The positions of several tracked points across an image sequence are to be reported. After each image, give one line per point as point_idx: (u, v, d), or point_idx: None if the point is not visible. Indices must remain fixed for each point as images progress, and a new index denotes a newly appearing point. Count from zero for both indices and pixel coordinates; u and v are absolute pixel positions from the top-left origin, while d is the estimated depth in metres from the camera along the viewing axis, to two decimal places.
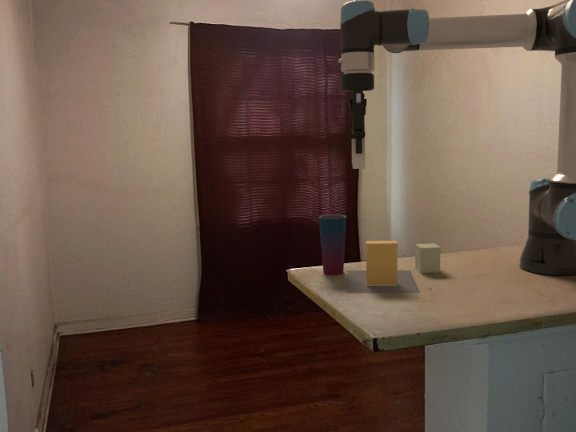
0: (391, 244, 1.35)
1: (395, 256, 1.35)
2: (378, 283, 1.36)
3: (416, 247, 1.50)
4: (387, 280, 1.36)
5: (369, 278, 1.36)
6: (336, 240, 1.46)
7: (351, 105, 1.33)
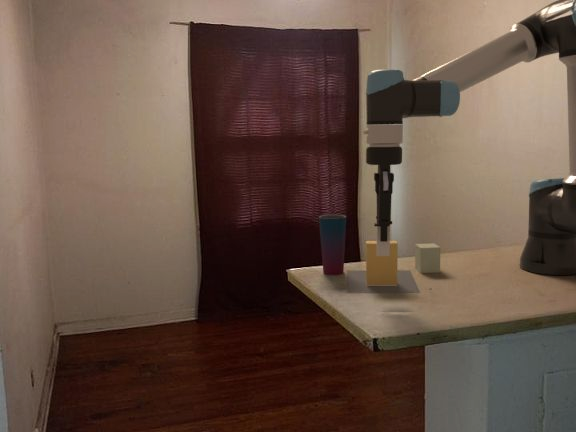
0: (391, 244, 1.35)
1: (395, 256, 1.35)
2: (378, 283, 1.36)
3: (416, 247, 1.50)
4: (387, 280, 1.36)
5: (369, 278, 1.36)
6: (336, 240, 1.46)
7: (377, 184, 1.24)
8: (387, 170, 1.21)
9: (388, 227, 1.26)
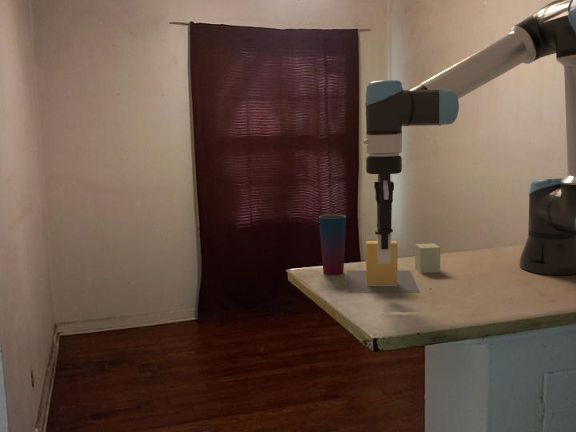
0: (391, 244, 1.35)
1: (395, 256, 1.35)
2: (378, 283, 1.36)
3: (416, 247, 1.50)
4: (387, 280, 1.36)
5: (369, 278, 1.36)
6: (336, 240, 1.46)
7: (377, 193, 1.25)
8: (387, 179, 1.23)
9: (389, 235, 1.28)
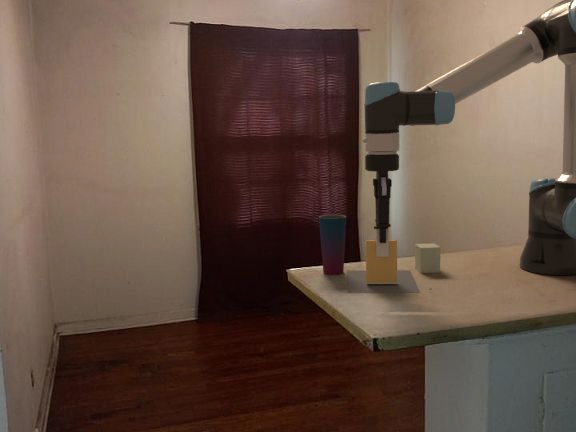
0: (390, 241, 1.36)
1: (395, 253, 1.36)
2: (378, 281, 1.37)
3: (416, 247, 1.50)
4: (387, 278, 1.36)
5: (369, 275, 1.37)
6: (336, 240, 1.46)
7: (376, 189, 1.32)
8: (385, 176, 1.29)
9: (387, 229, 1.34)
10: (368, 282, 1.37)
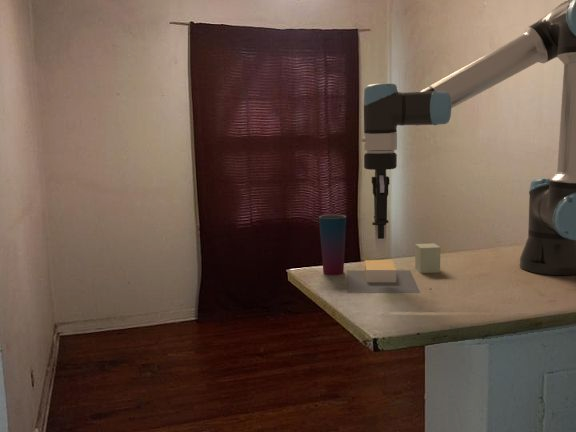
0: (387, 260, 1.48)
1: (392, 263, 1.46)
2: (377, 269, 1.40)
3: (416, 247, 1.50)
4: (385, 268, 1.40)
5: (368, 268, 1.41)
6: (336, 240, 1.46)
7: (374, 187, 1.37)
8: (383, 174, 1.34)
9: (385, 225, 1.39)
10: (367, 269, 1.40)
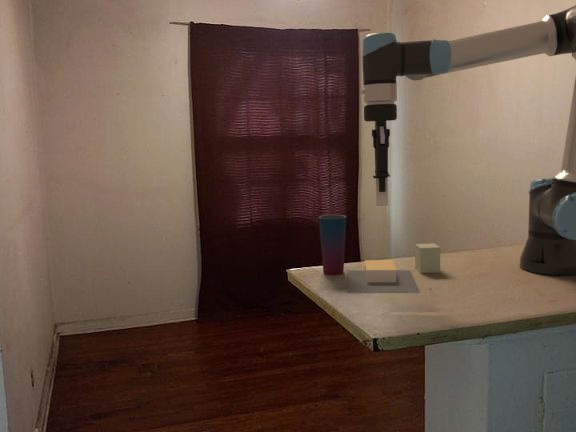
0: (387, 260, 1.48)
1: (392, 263, 1.46)
2: (377, 269, 1.40)
3: (416, 247, 1.50)
4: (385, 268, 1.40)
5: (368, 268, 1.41)
6: (336, 240, 1.46)
7: (374, 139, 1.35)
8: (383, 125, 1.33)
9: (386, 179, 1.37)
10: (367, 269, 1.40)
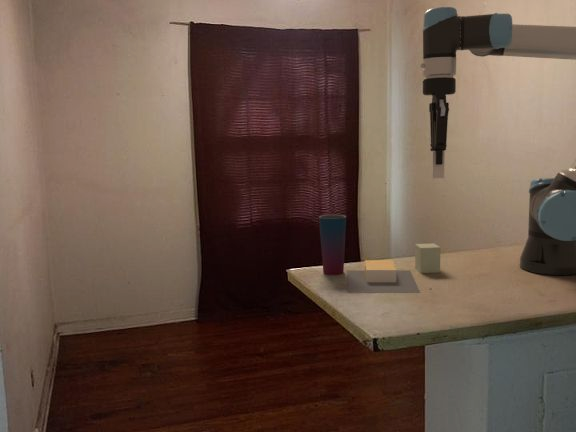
0: (387, 260, 1.48)
1: (392, 263, 1.46)
2: (377, 269, 1.40)
3: (416, 247, 1.50)
4: (385, 268, 1.40)
5: (368, 268, 1.41)
6: (336, 240, 1.46)
7: (433, 112, 1.38)
8: (443, 98, 1.35)
9: (443, 152, 1.40)
10: (367, 269, 1.40)
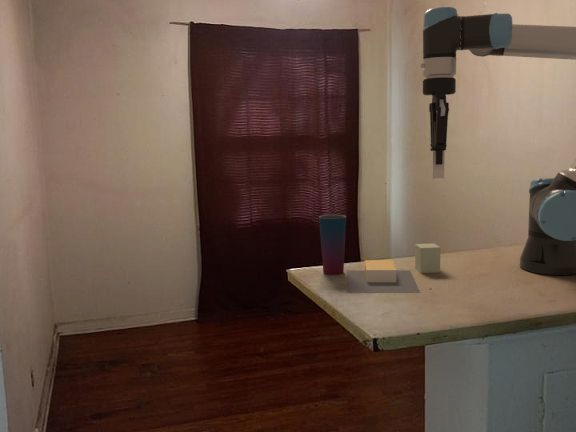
0: (387, 260, 1.48)
1: (392, 263, 1.46)
2: (377, 269, 1.40)
3: (416, 247, 1.50)
4: (385, 268, 1.40)
5: (368, 268, 1.41)
6: (336, 240, 1.46)
7: (433, 112, 1.38)
8: (443, 98, 1.35)
9: (443, 152, 1.40)
10: (367, 269, 1.40)
